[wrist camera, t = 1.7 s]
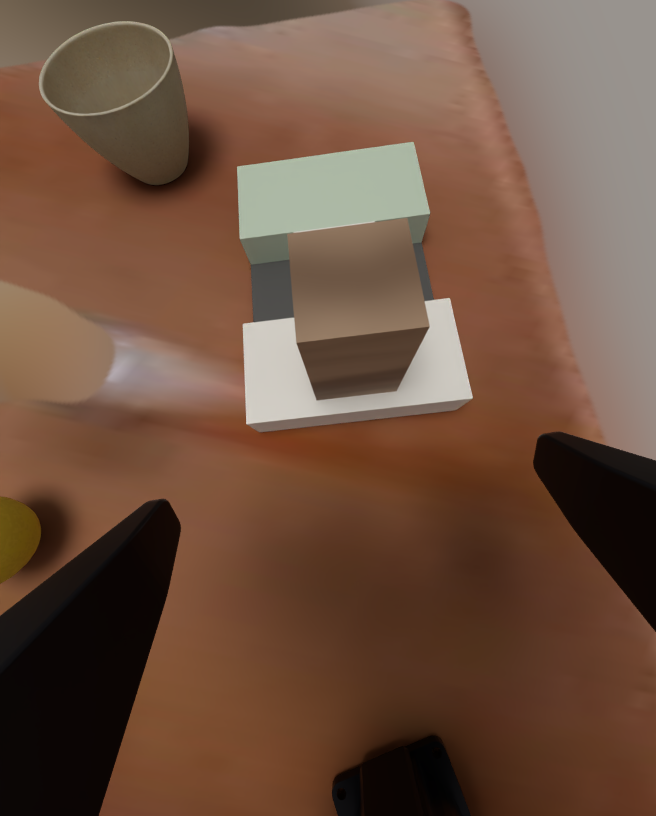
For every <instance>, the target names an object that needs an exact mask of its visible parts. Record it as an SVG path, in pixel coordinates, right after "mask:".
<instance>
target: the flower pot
mask: <svg viewBox="0 0 656 816" xmlns="http://www.w3.org/2000/svg"><path fill="white" fill-rule="evenodd" d="M39 89H40V93H41V95H42V97H43V99H44V100H45V102H46V103H47V104H48V105H49V106H50V107H51V109H52V110H53V111H54V112H55V113H56V114H57V115H58V116H59V117H60V118H61V119H62V120H63V121H64V122H65V123H66V124H67V125H68V126H69V127H70V128H71V129H72V130H73V131H74V132H75V133H76V134H77V135H78V136H79V137H80V138H81V139H82V140H83V141H85V142H86V143H87V144H88V145H89V146H90V147H91V148H93V149H94V150H95V151H96V152H98V153H99V154H100V155H101V156H103V157H104V158H105V159H107V160H108V161H109V162H111V163H112V164H114V165H115V166H117V167H118V168H120V169H121V170H123V171H124V172H126V173H128V174H129V175H131V176H133V177H135V178H136V179H138V180H140V181H142V182H144V183H147V184H151V185H161V184H166V183H169V182H171V181H173V180H175V179H176V178H178V177H179V176H180V175H181V174H182V173H183V172H184V170H185V168H186V166H187V163H188V154H189V126H188V115H187V107H186V101H185V95H184V90H183V85H182V81H181V76H180V72H179V68H178V65H177V61H176V58H175V55H174V52H173V48H172V46H171V43H170V41H169V39H168V38H167V37H166V35H164V34H163V33H162V32H161V31H160V30H158V29H156V28H154V27H152V26H149V25H147V24H143V23H138V22H127V21H121V22H112V23H106V24H102V25H98V26H95V27H92V28H89V29H87V30H84V31H82V32H80V33H78V34H76V35H74V36H73V37H72V38H70V39H68V40H67V41H66V42H64V43H63V44H62V45H60V47H58V48H57V49H56V50H55V51H54V52H53V53H52V55H51V56H50V57H49V58H48V60H47V61H46V62H45V64H44V66H43V68H42V70H41V73H40V77H39Z"/></svg>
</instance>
